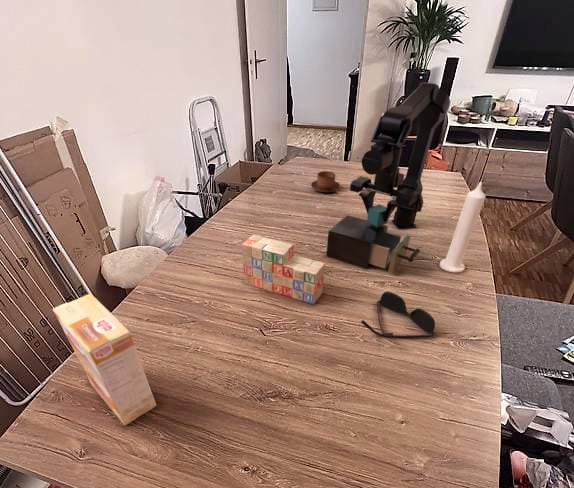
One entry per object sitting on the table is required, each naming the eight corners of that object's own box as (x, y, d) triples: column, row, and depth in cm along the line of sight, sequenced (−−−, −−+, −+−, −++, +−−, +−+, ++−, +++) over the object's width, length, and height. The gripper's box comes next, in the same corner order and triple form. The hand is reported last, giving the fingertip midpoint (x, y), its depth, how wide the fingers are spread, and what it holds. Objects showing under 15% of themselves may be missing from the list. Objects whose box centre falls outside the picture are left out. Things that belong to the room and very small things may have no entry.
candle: (465, 274, 109) (498, 188, 93) (440, 271, 110) (468, 185, 94) (462, 261, 115) (492, 178, 98) (438, 259, 116) (464, 176, 99)
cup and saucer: (307, 185, 160) (307, 170, 156) (333, 183, 163) (334, 168, 159) (317, 196, 151) (317, 180, 147) (344, 193, 154) (345, 177, 150)
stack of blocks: (322, 293, 102) (326, 252, 93) (313, 305, 98) (316, 264, 89) (255, 272, 109) (253, 233, 101) (243, 283, 105) (240, 243, 97)
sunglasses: (344, 323, 92) (346, 307, 89) (381, 301, 99) (385, 285, 96) (399, 361, 83) (404, 345, 79) (436, 334, 90) (442, 318, 86)
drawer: (419, 260, 113) (425, 239, 109) (406, 277, 106) (412, 256, 102) (367, 245, 120) (371, 225, 115) (352, 260, 113) (355, 240, 108)
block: (366, 221, 114) (368, 207, 111) (377, 218, 115) (379, 204, 112) (376, 227, 111) (379, 212, 108) (387, 223, 113) (390, 209, 110)
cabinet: (382, 251, 119) (387, 225, 113) (366, 269, 111) (371, 242, 105) (344, 239, 124) (347, 215, 119) (326, 256, 116) (328, 230, 111)
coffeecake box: (89, 383, 77) (50, 308, 64) (122, 365, 81) (91, 291, 68) (123, 427, 69) (87, 352, 56) (158, 405, 73) (131, 330, 60)
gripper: (432, 164, 103) (418, 218, 113) (371, 151, 111) (363, 203, 121) (415, 175, 96) (402, 231, 106) (352, 160, 104) (345, 214, 115)
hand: (377, 219), depth 112 cm, fingers closed on block, 5 cm apart
